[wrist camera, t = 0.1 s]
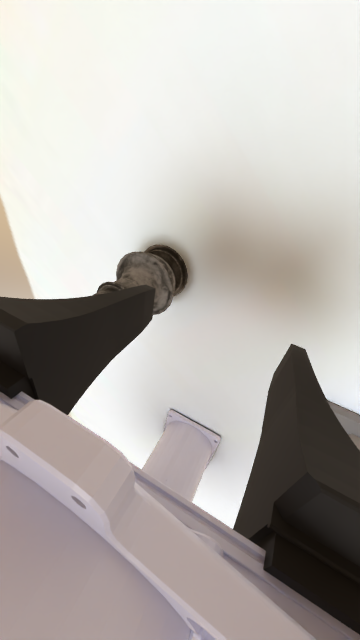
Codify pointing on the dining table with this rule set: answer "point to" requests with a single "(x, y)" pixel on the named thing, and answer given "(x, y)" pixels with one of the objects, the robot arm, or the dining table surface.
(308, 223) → the dining table surface
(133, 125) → the dining table surface
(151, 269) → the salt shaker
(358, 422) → the comb rail
